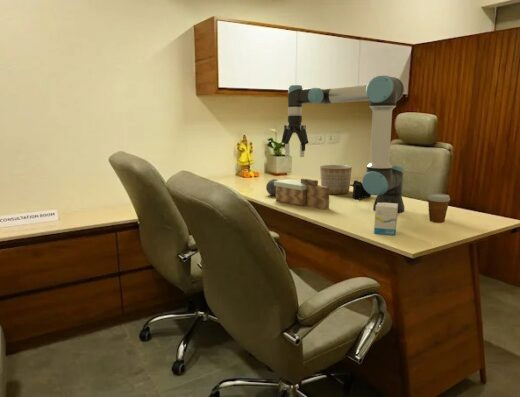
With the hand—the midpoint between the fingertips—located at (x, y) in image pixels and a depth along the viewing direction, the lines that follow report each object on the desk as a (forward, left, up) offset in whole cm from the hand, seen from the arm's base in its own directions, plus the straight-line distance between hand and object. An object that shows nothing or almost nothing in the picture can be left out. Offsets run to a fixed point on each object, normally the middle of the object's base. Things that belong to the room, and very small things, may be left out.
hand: (294, 156), depth 217 cm
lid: (0, 0, -17) cm, 17 cm away
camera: (-19, -38, -26) cm, 50 cm away
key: (-11, 0, -14) cm, 18 cm away
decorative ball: (+22, -6, -26) cm, 35 cm away
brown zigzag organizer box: (-7, 0, -26) cm, 27 cm away
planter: (+2, -40, -26) cm, 48 cm away
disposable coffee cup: (-73, -17, -26) cm, 79 cm away
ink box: (-66, +15, -26) cm, 73 cm away
